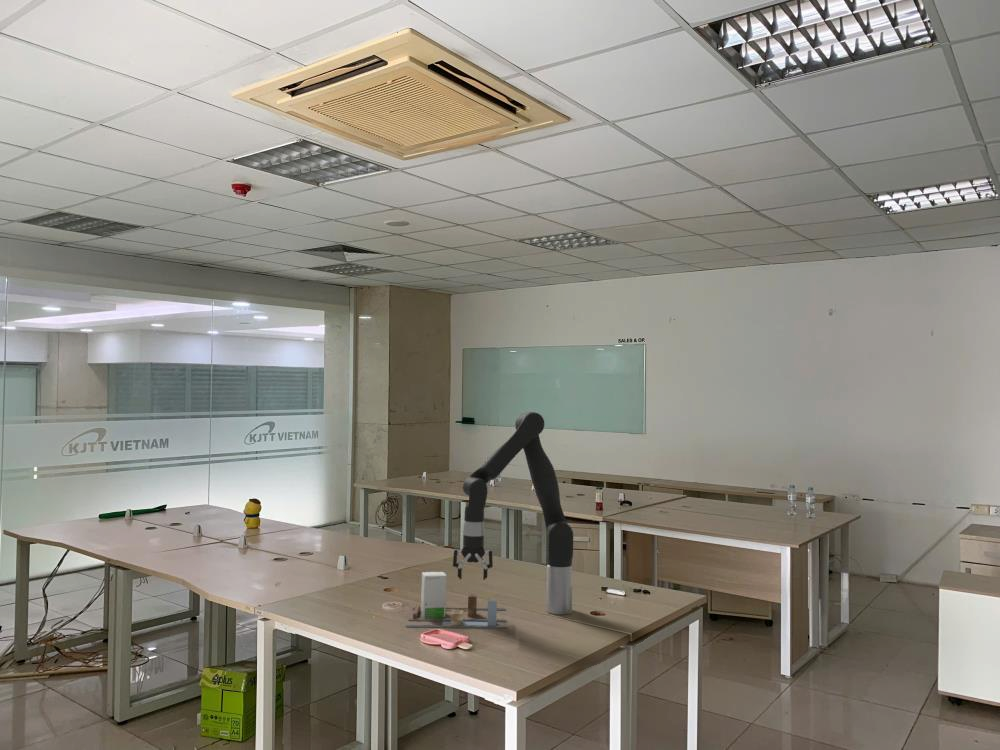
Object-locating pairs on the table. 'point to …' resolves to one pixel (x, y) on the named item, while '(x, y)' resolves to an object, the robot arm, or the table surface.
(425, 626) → the guide rails
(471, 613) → the walnut frame
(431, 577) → the skincare box
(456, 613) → the beech cube
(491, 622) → the pale blue bent piece
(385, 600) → the table surface
